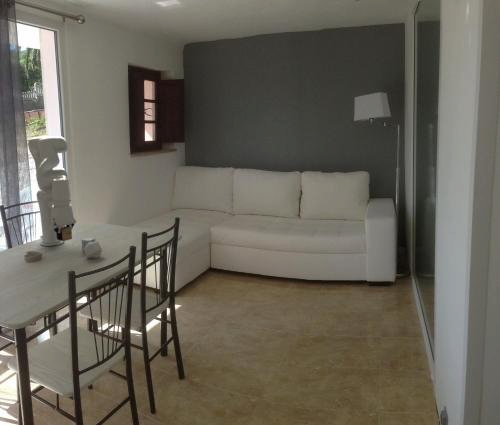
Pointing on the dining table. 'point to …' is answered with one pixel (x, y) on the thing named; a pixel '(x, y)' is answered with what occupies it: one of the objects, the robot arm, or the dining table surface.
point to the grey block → (86, 240)
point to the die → (92, 250)
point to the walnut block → (66, 233)
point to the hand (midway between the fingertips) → (64, 238)
